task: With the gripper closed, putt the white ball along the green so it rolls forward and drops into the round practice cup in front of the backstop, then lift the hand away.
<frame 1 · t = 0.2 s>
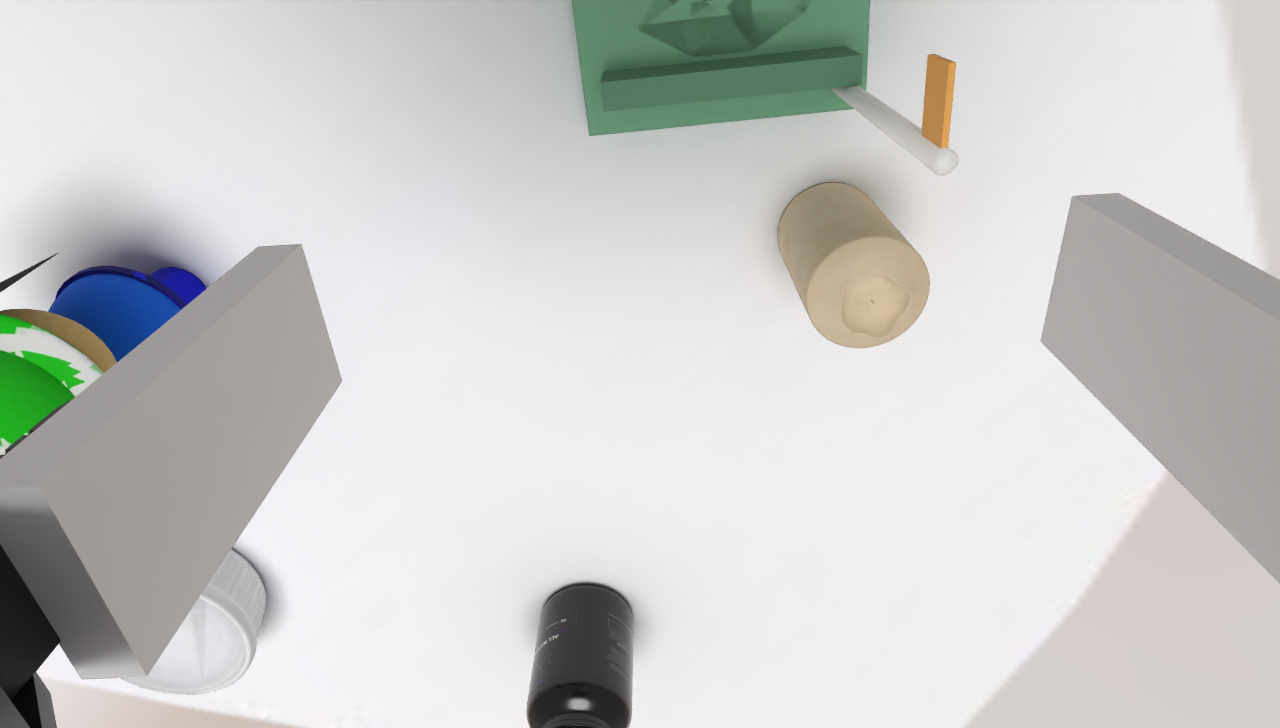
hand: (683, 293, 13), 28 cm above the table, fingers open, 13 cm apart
candle: (826, 229, 42), on the table
toy: (158, 293, 44), on the table
supplement bottle: (587, 613, 56), on the table
ramekin: (203, 579, 55), on the table
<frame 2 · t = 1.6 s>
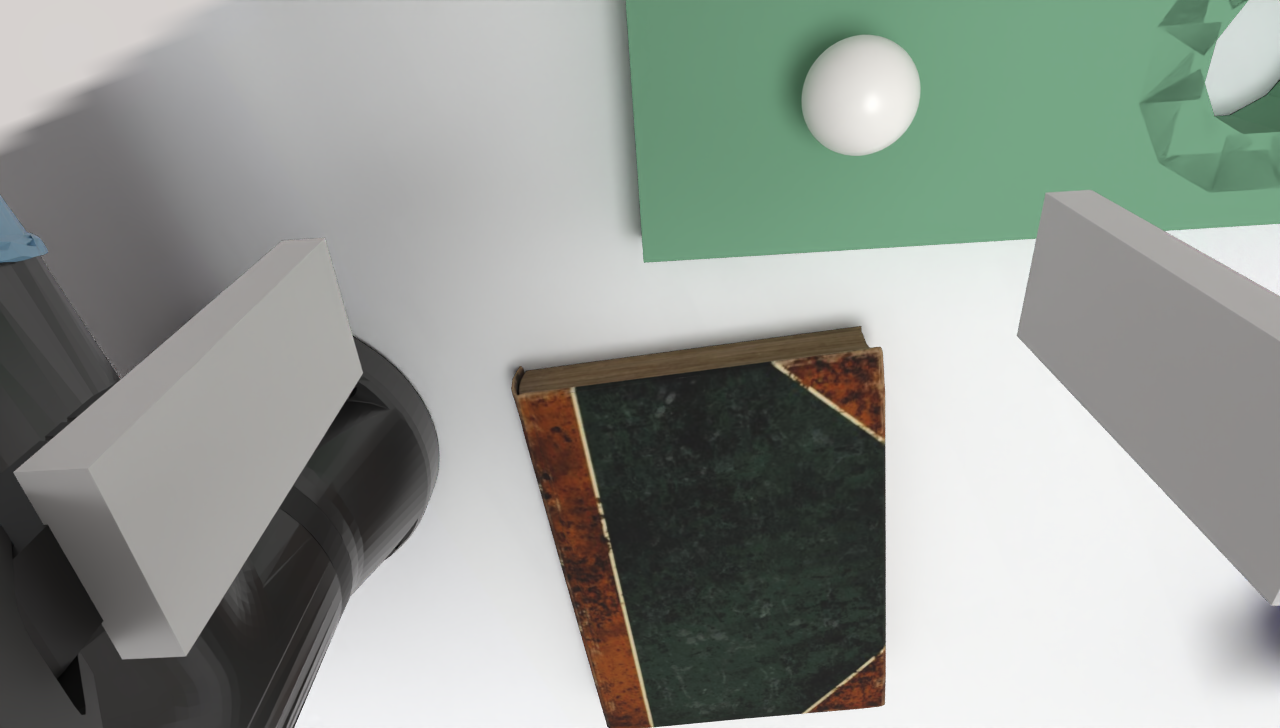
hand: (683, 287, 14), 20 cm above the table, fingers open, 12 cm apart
green: (1029, 59, 31), on the table
book: (716, 526, 44), on the table
ball: (859, 96, 27), point 5 cm above the table, touching green
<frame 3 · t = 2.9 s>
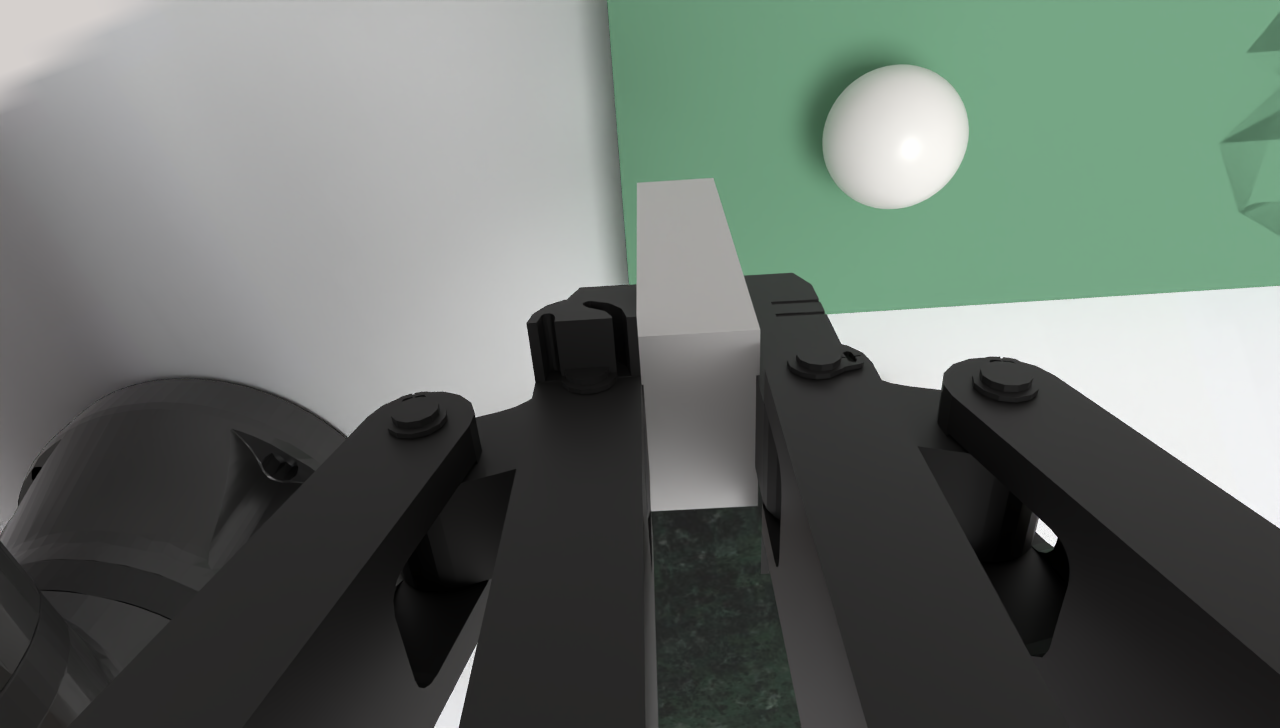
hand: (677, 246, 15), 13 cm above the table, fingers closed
green: (1083, 89, 26), on the table
book: (715, 603, 39), on the table
ball: (893, 138, 22), point 5 cm above the table, touching green
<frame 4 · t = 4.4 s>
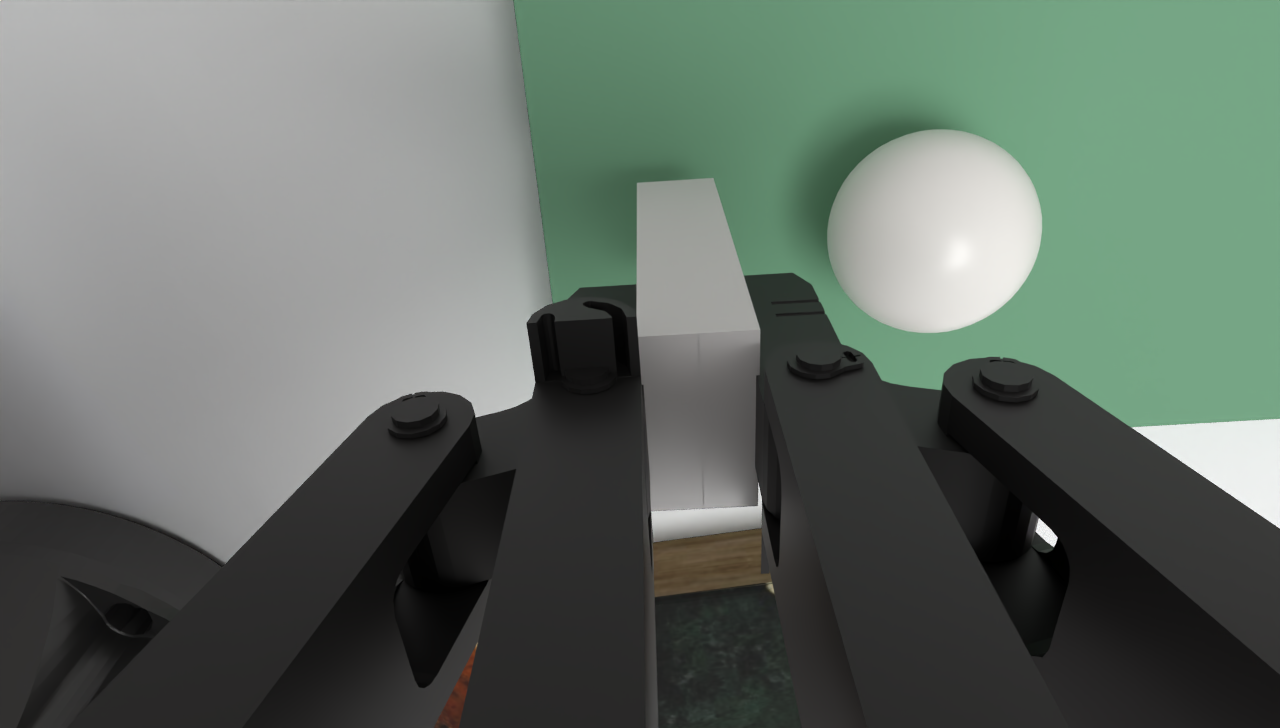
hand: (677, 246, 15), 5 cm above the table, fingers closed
green: (1178, 147, 19), on the table
ball: (929, 233, 15), point 5 cm above the table, touching green
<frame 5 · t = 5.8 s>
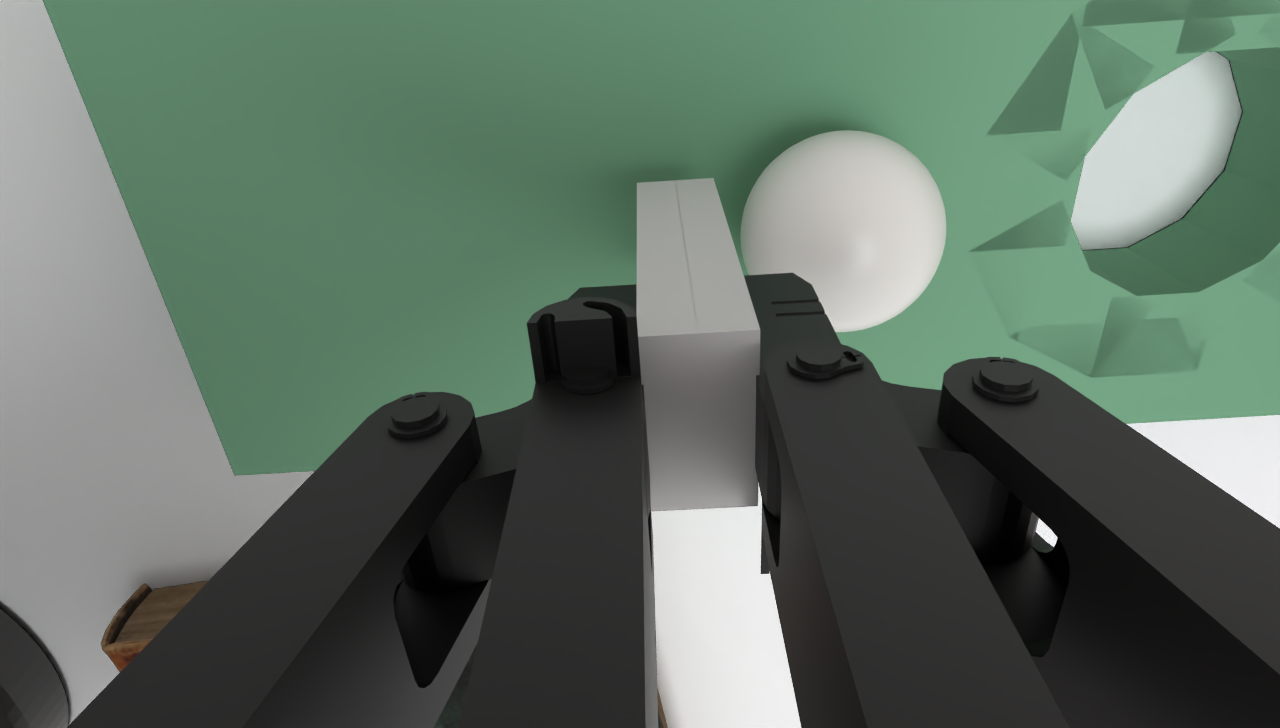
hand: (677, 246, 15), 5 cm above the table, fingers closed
green: (814, 169, 20), on the table
ball: (840, 233, 15), point 5 cm above the table, tilted 149°, touching green
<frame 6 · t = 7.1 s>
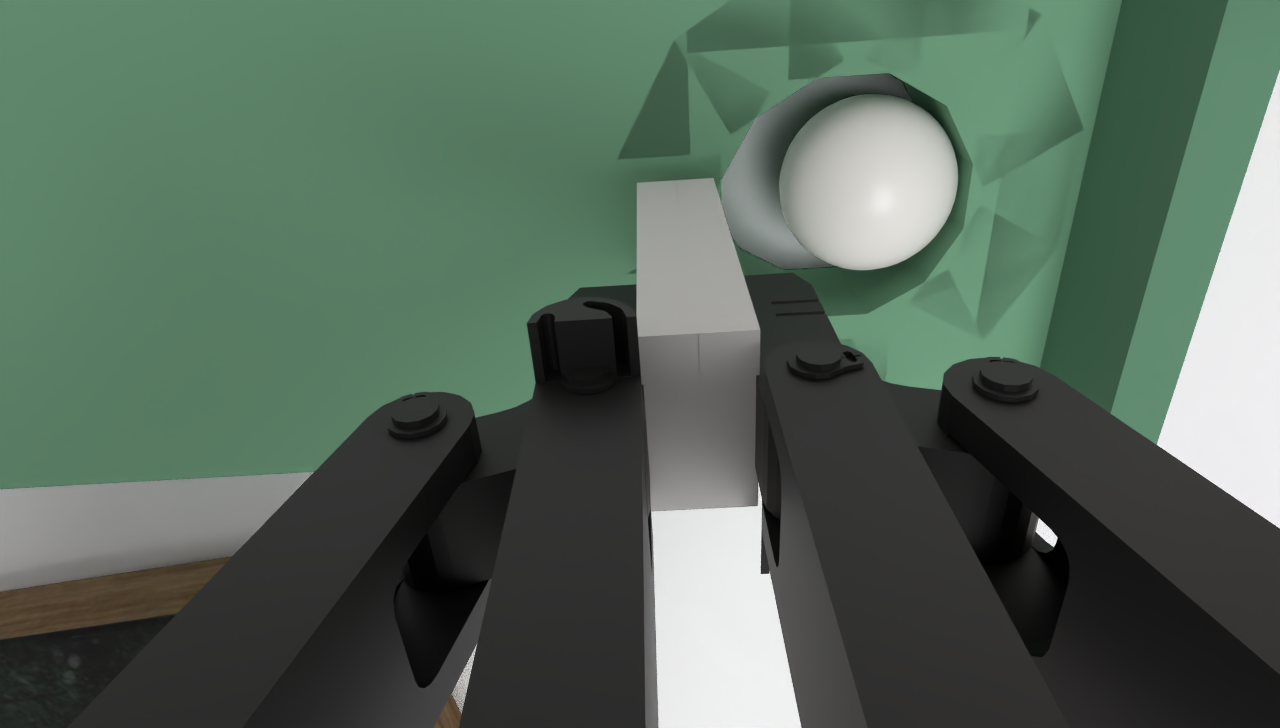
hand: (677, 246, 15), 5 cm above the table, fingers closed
green: (508, 189, 20), on the table
ball: (865, 184, 18), point 2 cm above the table, tilted 152°
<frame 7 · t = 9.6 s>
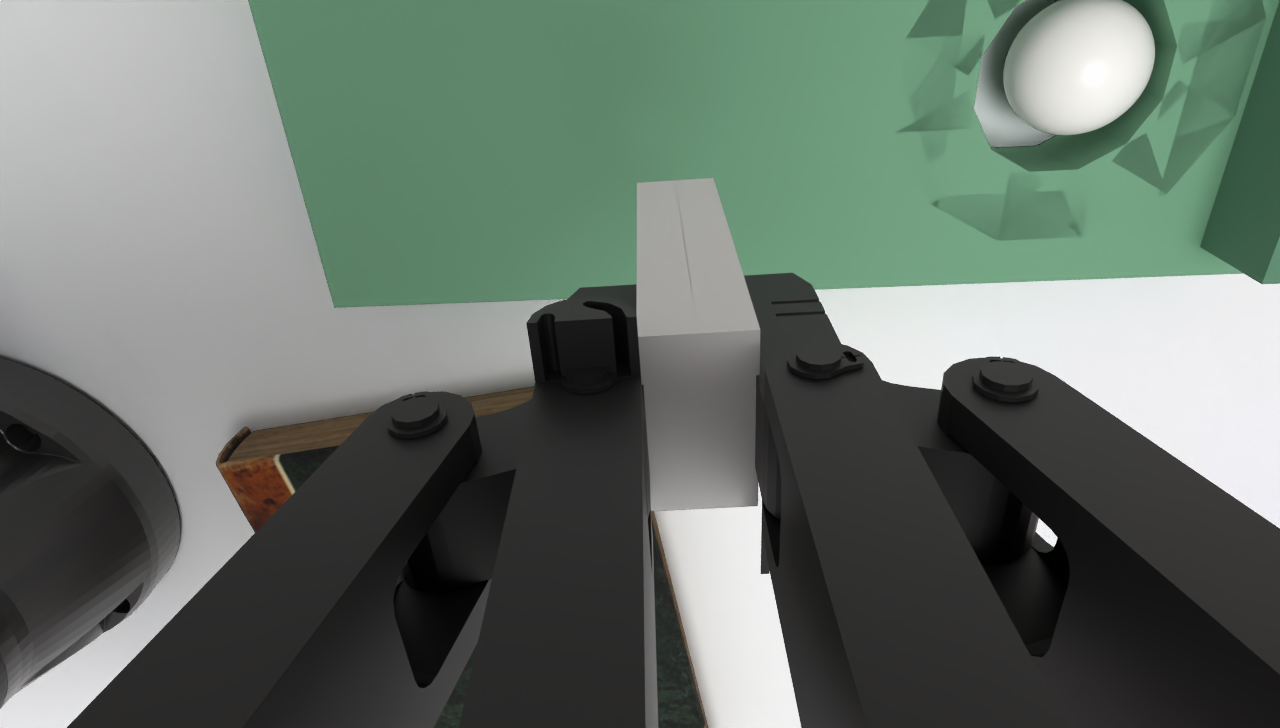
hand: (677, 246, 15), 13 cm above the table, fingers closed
green: (785, 75, 26), on the table
book: (513, 592, 39), on the table
ball: (1075, 66, 23), point 2 cm above the table, tilted 145°
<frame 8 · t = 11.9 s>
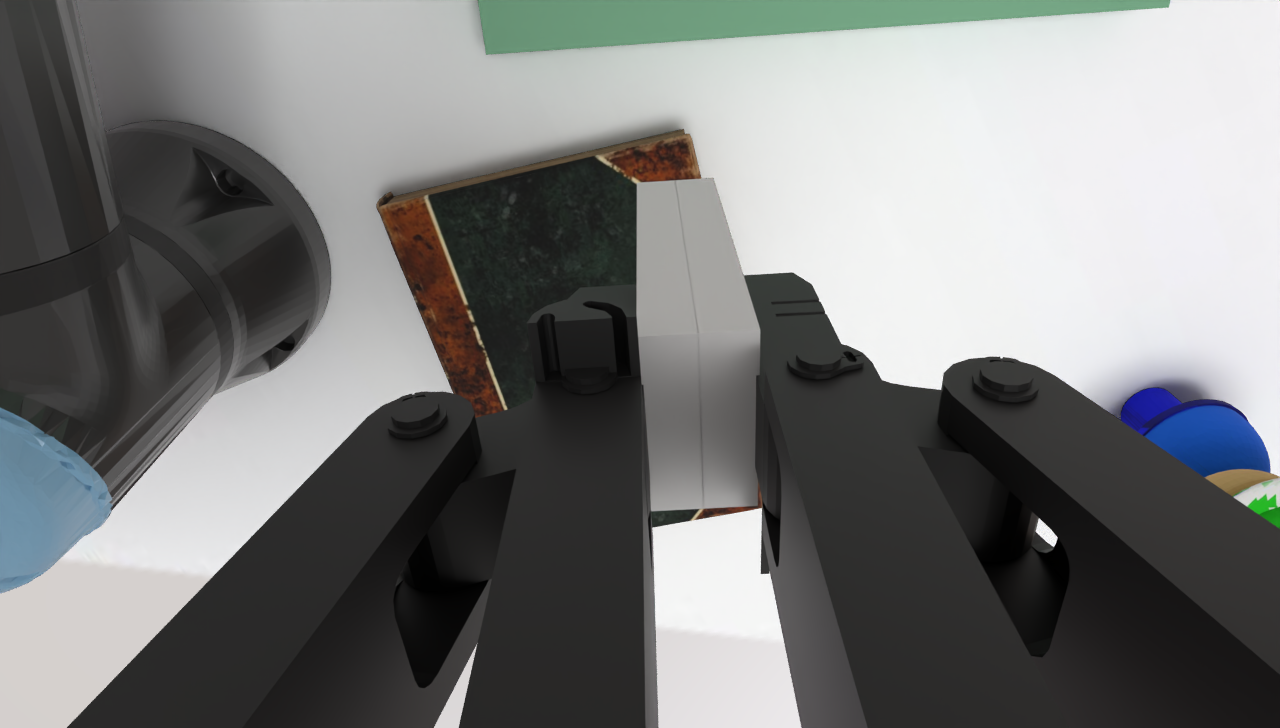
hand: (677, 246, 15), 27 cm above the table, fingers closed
toy: (1138, 424, 51), on the table
book: (593, 346, 48), on the table
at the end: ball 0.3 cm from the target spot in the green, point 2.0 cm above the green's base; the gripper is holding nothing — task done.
